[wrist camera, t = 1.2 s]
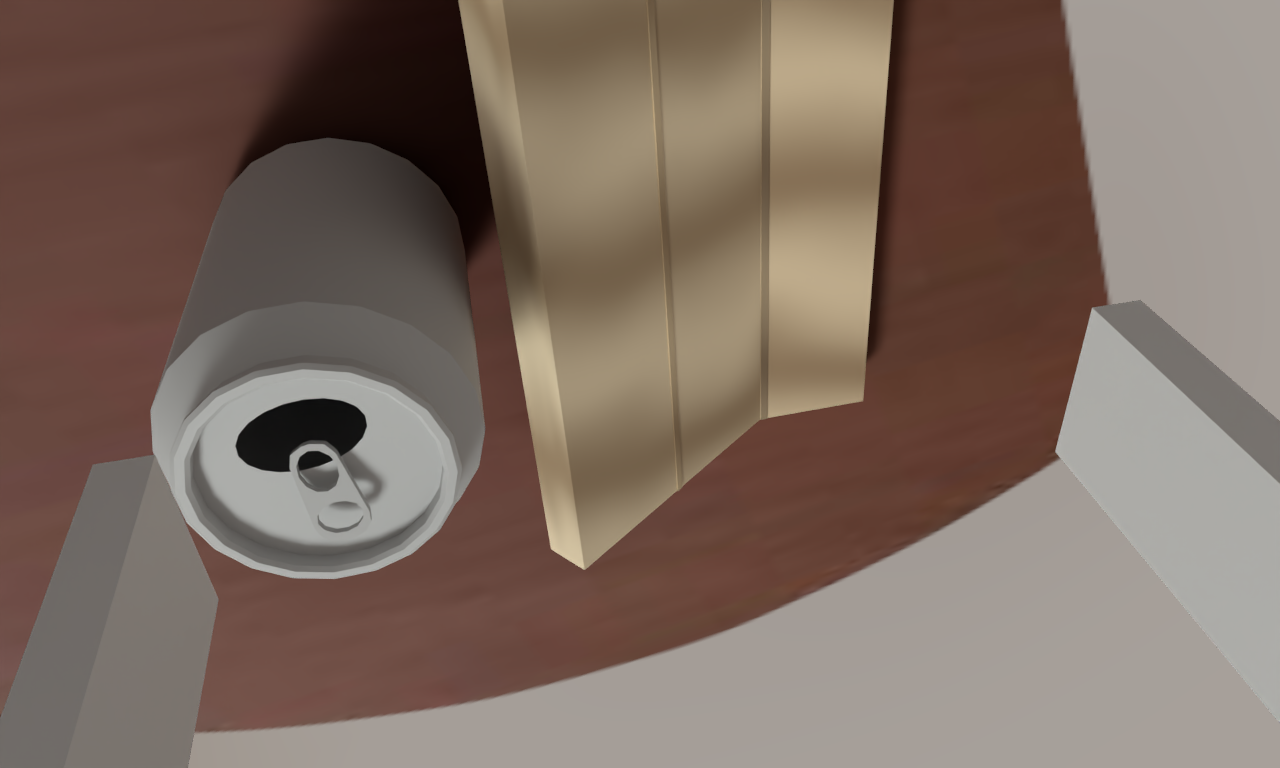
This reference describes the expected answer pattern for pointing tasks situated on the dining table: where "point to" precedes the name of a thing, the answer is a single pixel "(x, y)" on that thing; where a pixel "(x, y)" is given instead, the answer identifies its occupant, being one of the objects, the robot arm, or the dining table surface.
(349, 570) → the can
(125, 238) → the dining table surface
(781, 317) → the laid board
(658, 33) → the plank
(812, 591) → the dining table surface
